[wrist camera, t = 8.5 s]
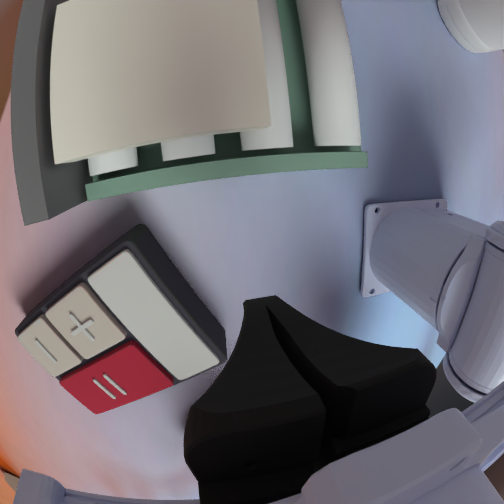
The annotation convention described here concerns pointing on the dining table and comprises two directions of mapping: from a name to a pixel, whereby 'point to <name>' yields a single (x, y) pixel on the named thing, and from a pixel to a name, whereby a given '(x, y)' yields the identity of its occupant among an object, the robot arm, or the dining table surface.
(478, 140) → the dining table surface
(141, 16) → the board
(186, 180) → the roller frame
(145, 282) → the calculator
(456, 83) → the dining table surface
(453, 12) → the bottle
